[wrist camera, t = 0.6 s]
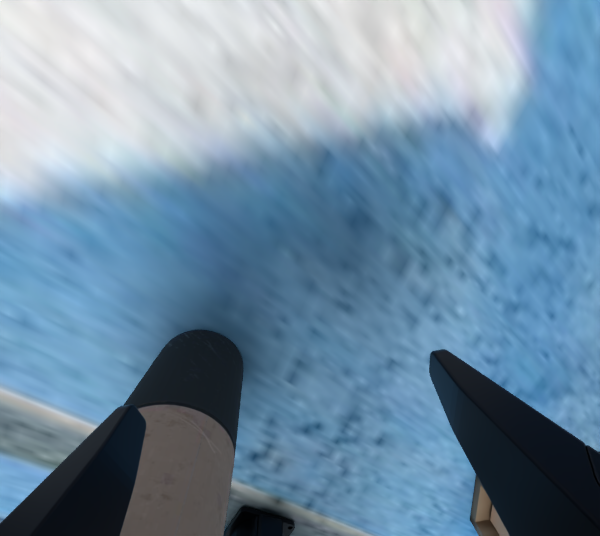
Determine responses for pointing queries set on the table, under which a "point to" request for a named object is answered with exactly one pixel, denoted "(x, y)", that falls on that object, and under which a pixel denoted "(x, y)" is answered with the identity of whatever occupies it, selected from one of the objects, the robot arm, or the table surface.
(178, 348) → the travel mug
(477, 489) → the rail
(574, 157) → the table surface
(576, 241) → the table surface
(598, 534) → the robot arm
